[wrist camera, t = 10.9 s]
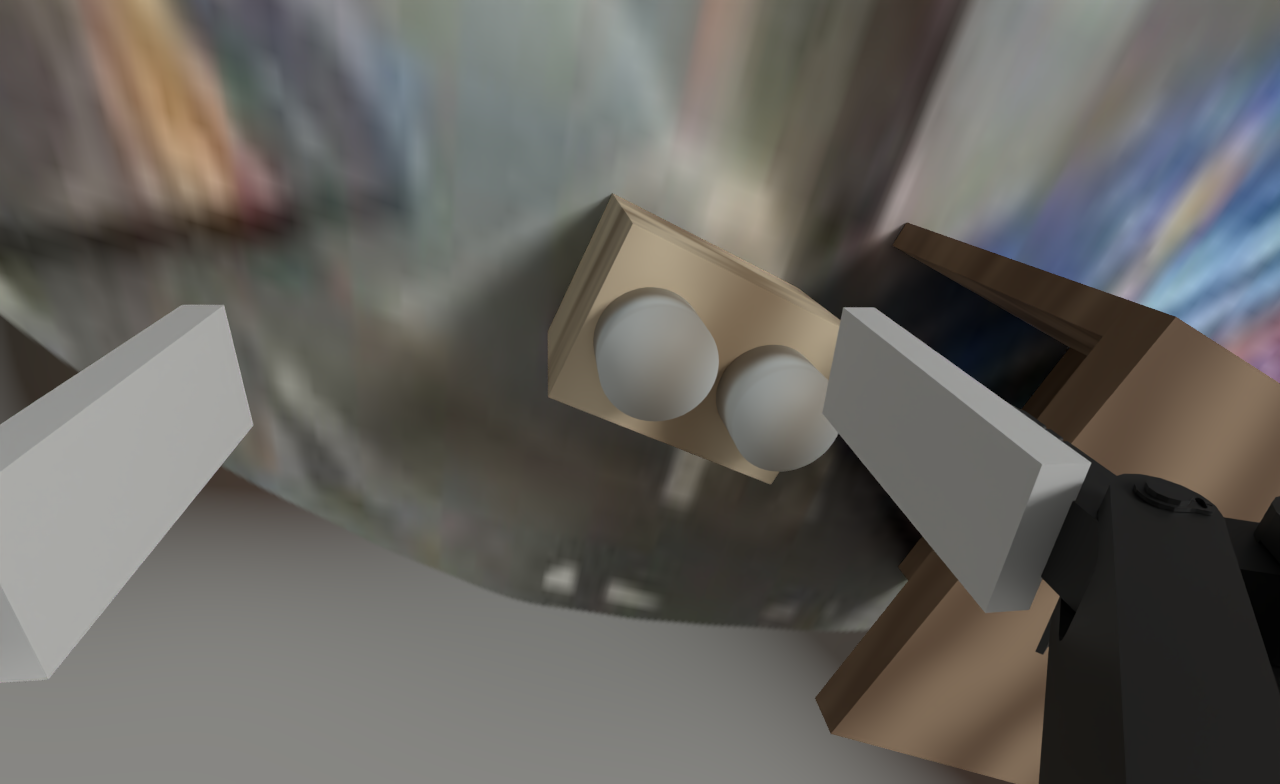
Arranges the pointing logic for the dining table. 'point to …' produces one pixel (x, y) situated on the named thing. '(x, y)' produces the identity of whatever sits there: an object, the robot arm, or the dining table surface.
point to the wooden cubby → (1108, 433)
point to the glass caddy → (693, 347)
